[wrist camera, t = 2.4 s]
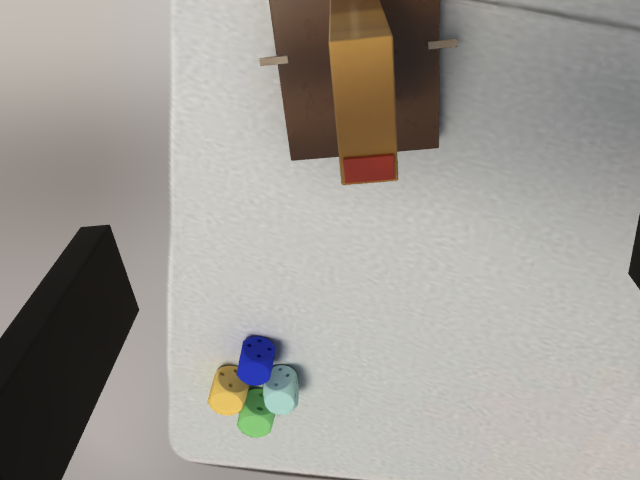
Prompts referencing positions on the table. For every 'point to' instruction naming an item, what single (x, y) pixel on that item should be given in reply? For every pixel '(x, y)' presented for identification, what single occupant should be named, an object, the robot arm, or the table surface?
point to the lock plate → (316, 80)
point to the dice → (256, 403)
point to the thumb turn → (363, 91)
